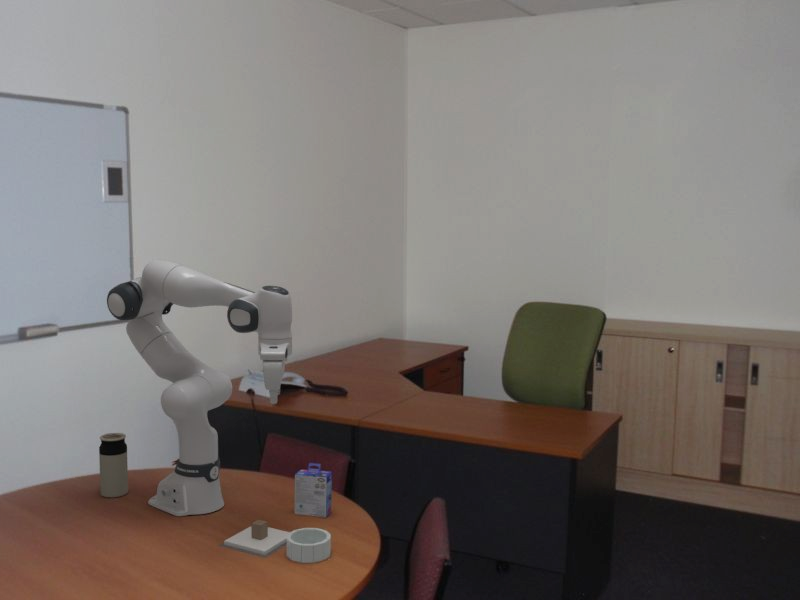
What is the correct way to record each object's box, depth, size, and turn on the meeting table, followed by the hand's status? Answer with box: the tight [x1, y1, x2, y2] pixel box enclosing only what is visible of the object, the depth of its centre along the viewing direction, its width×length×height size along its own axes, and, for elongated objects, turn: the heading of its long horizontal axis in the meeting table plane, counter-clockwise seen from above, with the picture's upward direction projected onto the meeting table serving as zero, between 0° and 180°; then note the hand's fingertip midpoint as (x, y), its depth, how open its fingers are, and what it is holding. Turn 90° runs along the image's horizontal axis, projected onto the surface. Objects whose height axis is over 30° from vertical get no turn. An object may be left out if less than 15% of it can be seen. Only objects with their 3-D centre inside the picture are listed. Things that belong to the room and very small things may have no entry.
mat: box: [218, 541, 287, 558], centre depth 219 cm, size 15×15×1 cm
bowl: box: [286, 527, 332, 564], centre depth 211 cm, size 11×11×5 cm
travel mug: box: [98, 432, 129, 499], centre depth 251 cm, size 8×8×18 cm
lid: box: [223, 519, 291, 555], centre depth 218 cm, size 13×13×5 cm
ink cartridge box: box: [293, 462, 333, 519], centre depth 239 cm, size 10×6×14 cm, turn 78°
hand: (275, 399), depth 221 cm, fingers open, 8 cm apart
